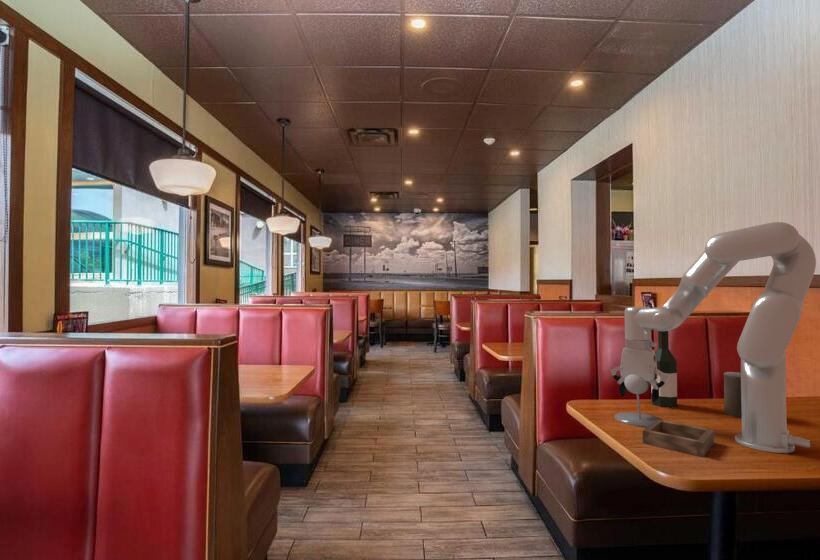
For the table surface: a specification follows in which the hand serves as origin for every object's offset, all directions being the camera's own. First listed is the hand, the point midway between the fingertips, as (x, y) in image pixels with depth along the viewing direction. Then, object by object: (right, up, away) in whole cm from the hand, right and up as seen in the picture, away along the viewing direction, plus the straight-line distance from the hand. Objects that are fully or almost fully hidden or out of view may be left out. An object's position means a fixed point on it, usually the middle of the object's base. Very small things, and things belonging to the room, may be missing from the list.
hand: (638, 398), depth 138 cm
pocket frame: (0, -7, -20) cm, 21 cm away
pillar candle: (+38, -8, +6) cm, 39 cm away
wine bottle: (+19, -8, +18) cm, 27 cm away
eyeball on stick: (0, -7, 0) cm, 7 cm away
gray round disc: (0, -7, 0) cm, 7 cm away
